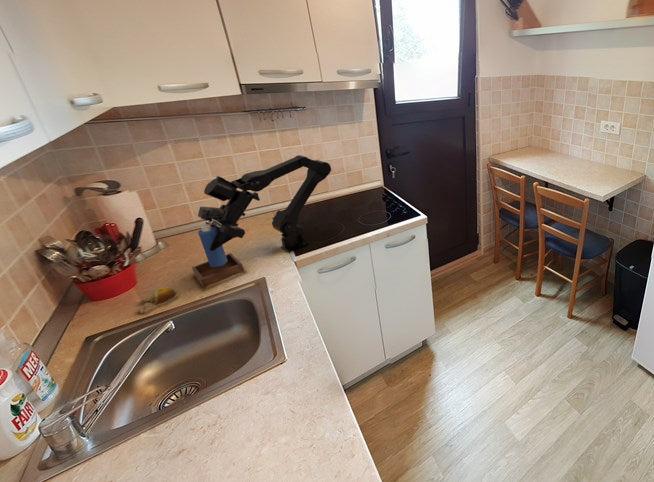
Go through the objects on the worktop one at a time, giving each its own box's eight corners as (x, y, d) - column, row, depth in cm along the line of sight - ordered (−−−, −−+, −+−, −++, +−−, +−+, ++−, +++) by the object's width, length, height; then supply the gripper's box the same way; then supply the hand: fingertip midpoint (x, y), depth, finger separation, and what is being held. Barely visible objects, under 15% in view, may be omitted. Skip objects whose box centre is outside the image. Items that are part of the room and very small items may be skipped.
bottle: (225, 257, 116) (212, 221, 111) (229, 262, 113) (216, 225, 108) (208, 264, 112) (194, 226, 107) (212, 269, 110) (198, 230, 104)
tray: (233, 261, 124) (230, 252, 122) (244, 272, 117) (241, 263, 116) (195, 276, 115) (191, 267, 114) (204, 289, 108) (201, 280, 107)
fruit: (142, 300, 104) (137, 290, 102) (176, 289, 109) (173, 280, 107) (139, 315, 98) (134, 305, 96) (176, 302, 103) (172, 293, 101)
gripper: (201, 190, 112) (170, 232, 108) (223, 203, 102) (191, 249, 98) (233, 203, 121) (207, 242, 117) (257, 216, 111) (229, 259, 107)
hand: (208, 248), depth 109 cm, fingers closed on bottle, 5 cm apart
